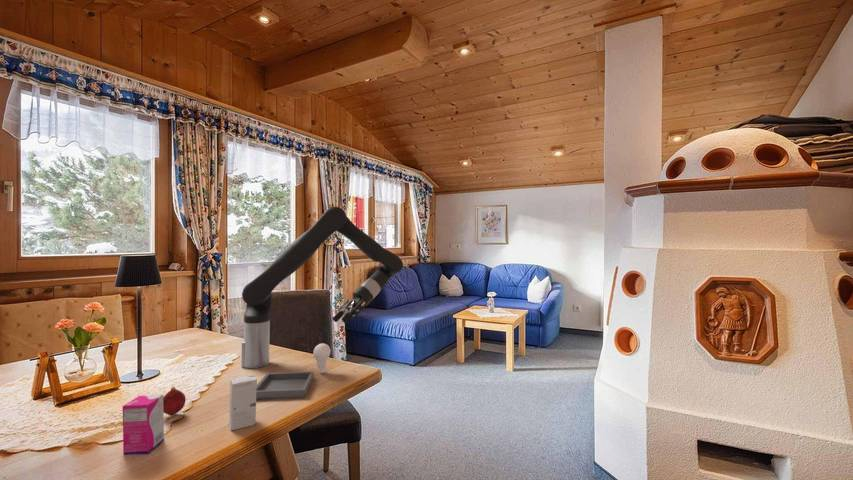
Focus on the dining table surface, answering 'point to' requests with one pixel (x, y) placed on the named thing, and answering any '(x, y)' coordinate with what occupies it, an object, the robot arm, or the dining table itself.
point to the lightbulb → (321, 356)
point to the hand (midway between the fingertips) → (338, 320)
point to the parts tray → (284, 385)
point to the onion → (173, 402)
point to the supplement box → (143, 424)
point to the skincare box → (242, 402)
